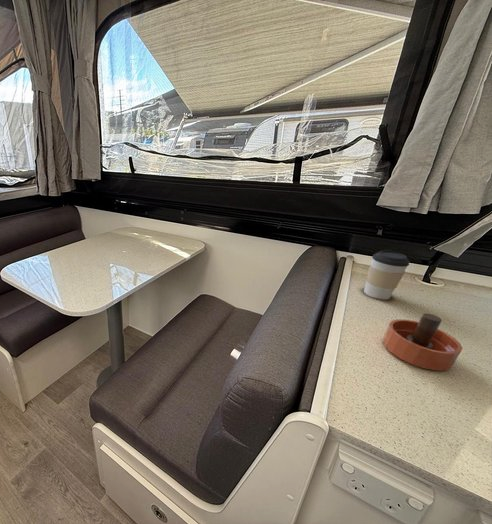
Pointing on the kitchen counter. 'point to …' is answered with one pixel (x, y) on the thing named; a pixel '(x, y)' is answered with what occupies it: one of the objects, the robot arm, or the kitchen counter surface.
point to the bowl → (412, 353)
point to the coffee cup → (385, 273)
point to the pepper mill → (425, 330)
